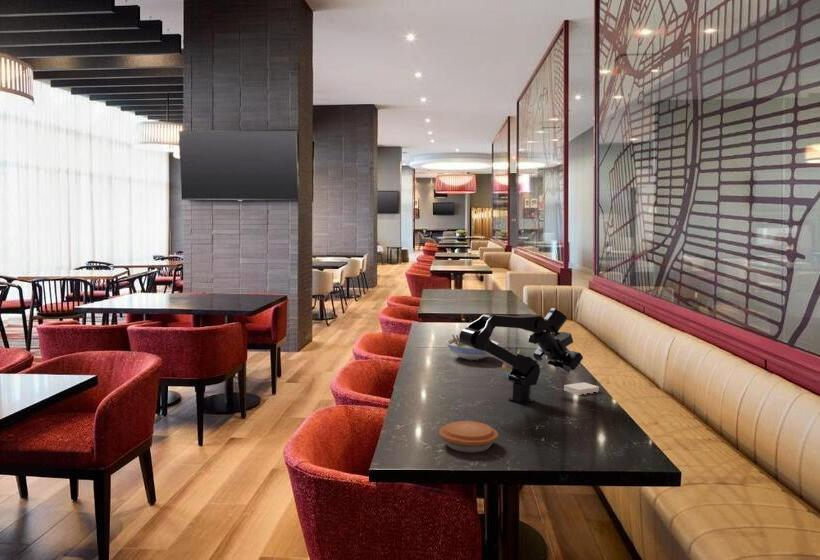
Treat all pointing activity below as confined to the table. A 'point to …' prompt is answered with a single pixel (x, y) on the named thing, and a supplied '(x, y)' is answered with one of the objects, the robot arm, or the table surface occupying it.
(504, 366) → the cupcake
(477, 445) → the pie
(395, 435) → the table surface
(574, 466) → the table surface
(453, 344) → the ramen bowl
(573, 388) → the tile
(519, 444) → the table surface
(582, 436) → the table surface
